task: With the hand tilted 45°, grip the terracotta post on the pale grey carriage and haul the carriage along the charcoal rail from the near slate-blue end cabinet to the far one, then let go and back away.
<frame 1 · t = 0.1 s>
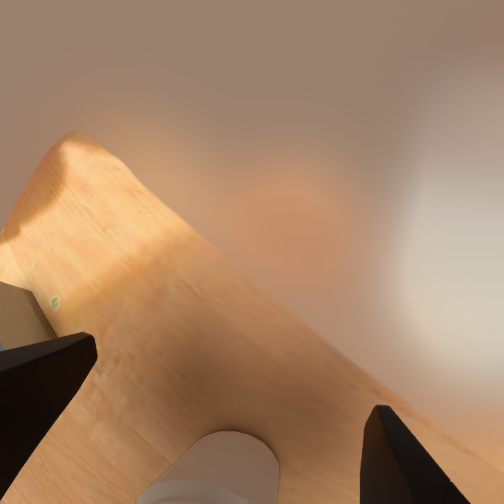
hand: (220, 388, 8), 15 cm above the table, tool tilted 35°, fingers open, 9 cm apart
can: (234, 466, 20), on the table
rail: (3, 399, 23), on the table
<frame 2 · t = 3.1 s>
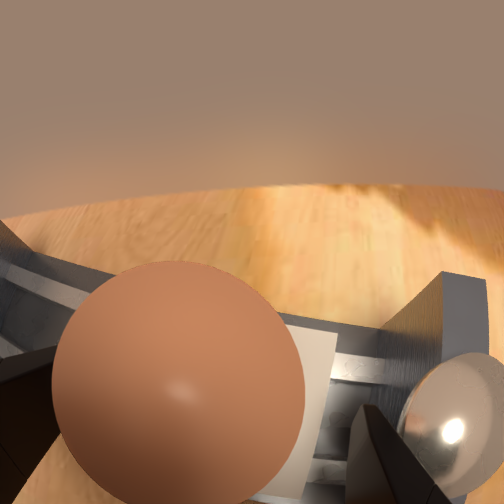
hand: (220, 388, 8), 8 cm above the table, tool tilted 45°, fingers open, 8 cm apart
rail: (146, 374, 16), on the table
carriage: (217, 399, 8), point 8 cm above the table, slide at 0.0 cm
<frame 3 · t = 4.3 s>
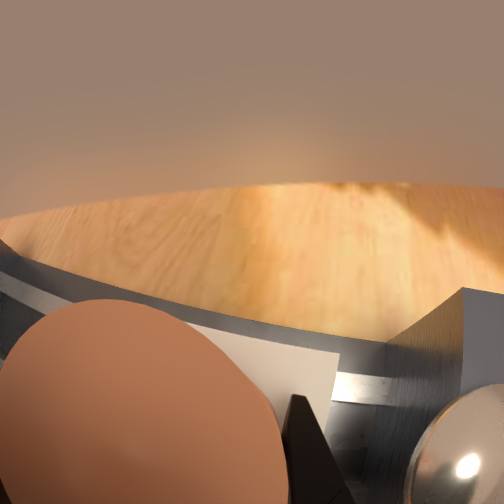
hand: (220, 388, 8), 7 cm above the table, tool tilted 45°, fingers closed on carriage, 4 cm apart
rail: (134, 389, 14), on the table
carriage: (197, 437, 6), point 8 cm above the table, slide at 0.0 cm, touching gripper
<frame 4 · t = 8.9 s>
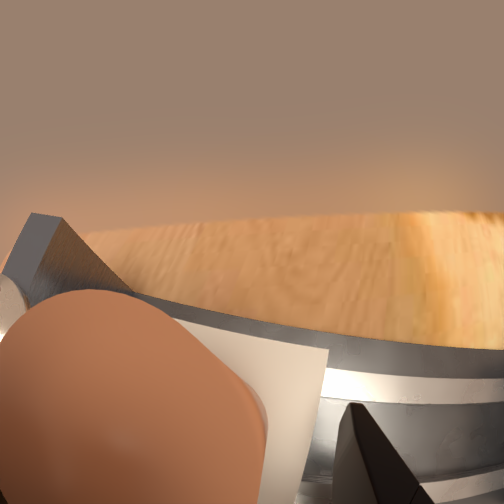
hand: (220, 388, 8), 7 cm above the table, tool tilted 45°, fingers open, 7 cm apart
rail: (341, 437, 12), on the table
carriage: (185, 430, 6), point 8 cm above the table, slide at 11.5 cm
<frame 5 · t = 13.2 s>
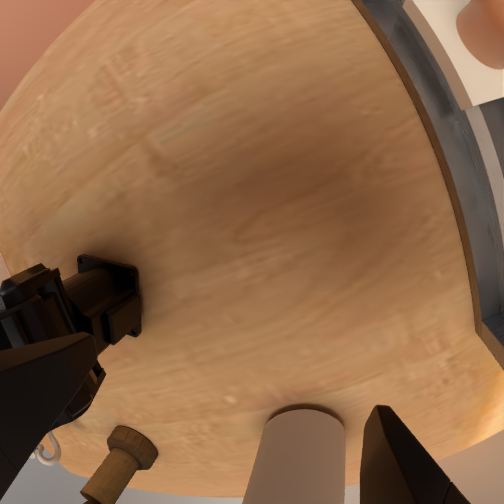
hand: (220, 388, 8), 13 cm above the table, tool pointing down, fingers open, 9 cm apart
can: (305, 428, 24), on the table
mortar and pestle: (136, 442, 31), on the table
teacup: (50, 396, 34), on the table
rail: (489, 135, 15), on the table
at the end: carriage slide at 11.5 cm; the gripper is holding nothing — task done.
